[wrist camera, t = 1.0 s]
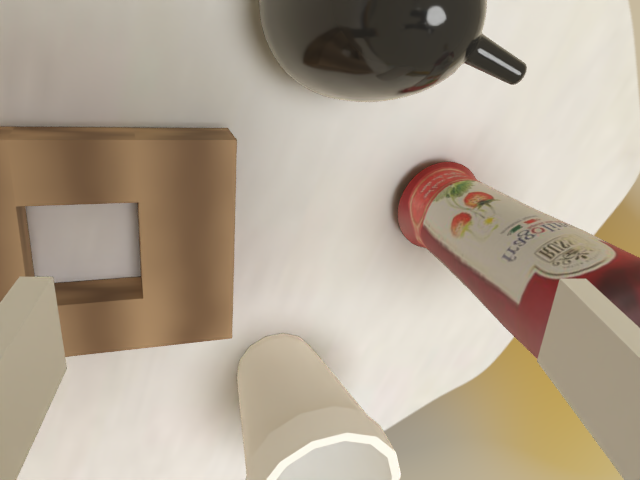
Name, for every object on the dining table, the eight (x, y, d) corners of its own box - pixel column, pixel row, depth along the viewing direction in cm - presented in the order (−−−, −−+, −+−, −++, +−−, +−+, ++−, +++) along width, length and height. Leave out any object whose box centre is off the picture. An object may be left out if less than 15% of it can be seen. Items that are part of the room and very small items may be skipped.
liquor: (399, 258, 45) (729, 583, 21) (377, 177, 42) (744, 458, 17) (479, 220, 46) (880, 490, 22) (464, 138, 43) (924, 354, 18)
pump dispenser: (354, 113, 39) (477, 184, 26) (216, 38, 34) (281, 78, 21) (431, -30, 37) (608, -32, 24) (294, -132, 32) (422, -205, 19)
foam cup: (301, 294, 44) (367, 406, 32) (349, 371, 48) (420, 491, 37) (193, 361, 43) (223, 498, 32) (252, 432, 48) (296, 573, 36)
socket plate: (-58, 343, 36) (-70, 372, 34) (-105, 125, 31) (-125, 139, 28) (224, 315, 42) (231, 338, 40) (227, 128, 37) (236, 140, 34)
